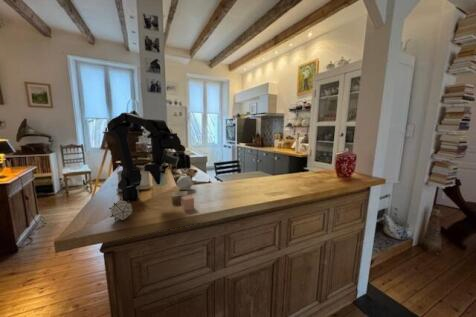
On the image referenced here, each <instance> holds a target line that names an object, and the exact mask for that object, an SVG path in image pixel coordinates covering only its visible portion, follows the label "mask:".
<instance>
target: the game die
mask: <svg viewBox="0 0 476 317" xmlns="http://www.w3.org/2000/svg"><path fill="white" fill-rule="evenodd" d="M133 206H134V203H130V201H123V199H122V197H120V198H119V201H118V202H116V203H115V202H113V206H112V207H108V209H109V210H110V212H111V215H110V216H109V218H112V217H113V218H114V220H120V221H122V223H125V220H126V219H127V218H128V217H131V216H130V215H132V213H136V211H135V210H133Z"/></svg>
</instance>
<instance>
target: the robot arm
mask: <svg viewBox="0 0 476 317" xmlns="http://www.w3.org/2000/svg"><path fill="white" fill-rule="evenodd" d="M132 124H133V125H137V126H138V127H139V126H140V127H142V128H144V129H145V130H146V131H147V132H149V134H148V135H147V136H146V138H147V139H150V144H151V145H150V146H151V150H150V151H149V154H150V155H151V160H150V162H148V163H146V164H145V165H144V166H143V169H144V172H149V174H150V175H151V177H152V179H153V178H154V180H155V181H156V183H157V184H160V179H161V173H167V172H166V171H167V169H168V168H169V167H170V165H172V166H177V165H178V163H179V161H180V156H179V154H178V153H176V152H174V153H169V152H168V151H167V150H179V149H180V147H181V146H182V143H181V142H182V141H181V139H180V137H179V136H178V133H176V132H175V133H174V132H172V131H171V130H170V129H169V127H168V125H167V123H166V121H165V120H163V119H151V118H147V117H144V116H140V115H137V114H134V113H132V112H121V113H120V114H119V115H117V116H115V117H113V118H112V119H111V120H110V121H109V122H108V123H107V126H106V127H107V131H108V133H109V135H110V136H111V137H112V138H113V140H114V141H115V142H116V143H115V144H116V147H117V151H118V155H119V159H120V163H121V166H122V171H121V173H120V181H119V182H118V183H117V187H118V190H121V194H122V197H121V198H122V200H123V201H127V202H128V201H129V202H134V201H137V200H138V199H139V197H140V195H139V194H140V192H139V188H138V187H140V186H141V182H142V180H143V179H142V177H143V175H142V173H141V169H140V168H137V167H136V166H135V164H134V160H133V156H132V153H131V149H130V145H129V141H128V135H129V133H130V131H129V129H130V128H131V127H132Z"/></svg>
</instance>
